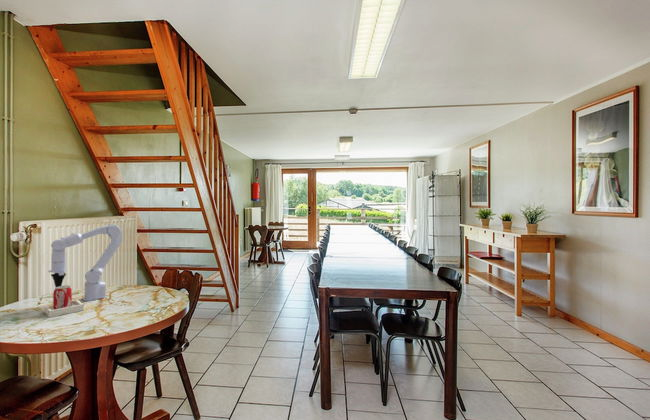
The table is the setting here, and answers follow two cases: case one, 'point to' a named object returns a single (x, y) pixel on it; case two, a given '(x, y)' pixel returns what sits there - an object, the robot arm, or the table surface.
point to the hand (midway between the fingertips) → (58, 286)
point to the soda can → (62, 297)
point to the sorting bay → (64, 309)
